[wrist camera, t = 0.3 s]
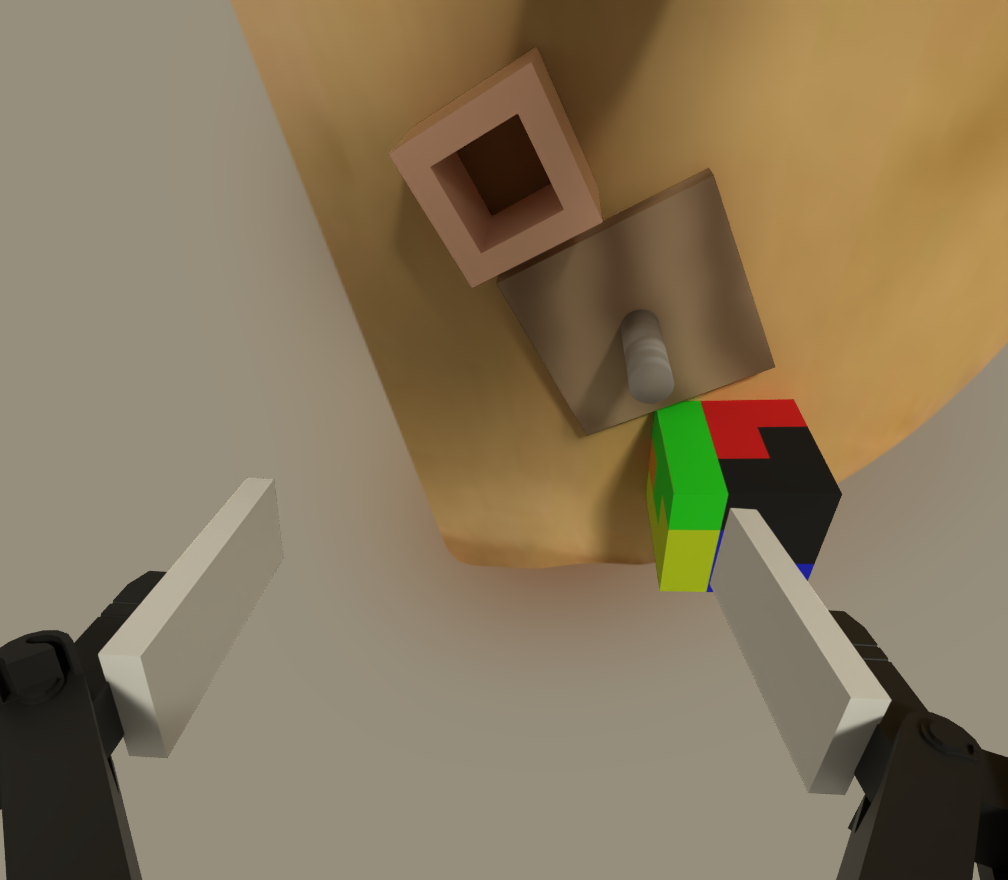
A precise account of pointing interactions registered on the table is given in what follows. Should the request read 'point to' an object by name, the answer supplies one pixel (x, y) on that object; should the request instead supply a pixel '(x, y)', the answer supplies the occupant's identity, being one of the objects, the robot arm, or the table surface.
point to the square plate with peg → (642, 307)
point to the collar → (456, 201)
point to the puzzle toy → (733, 484)
